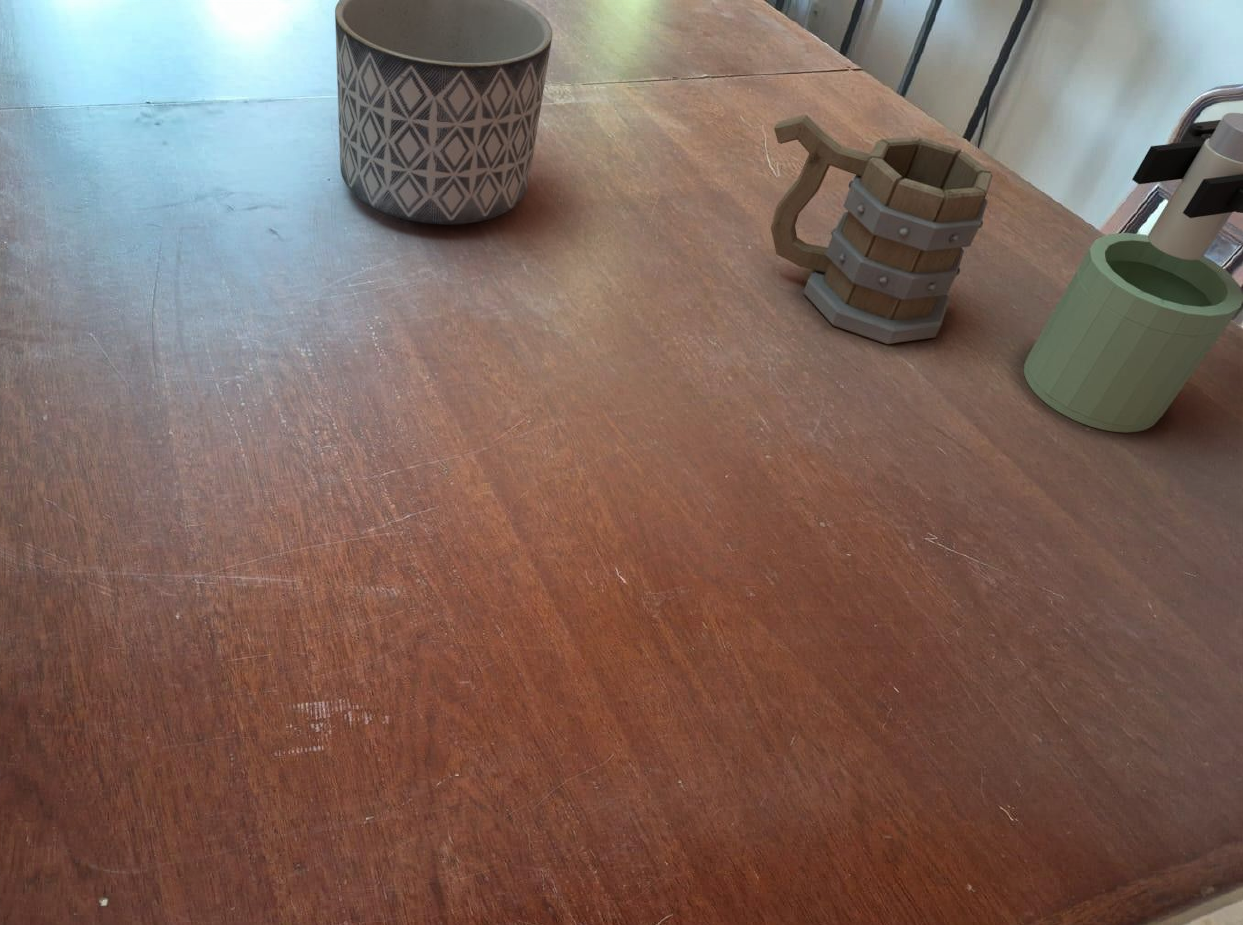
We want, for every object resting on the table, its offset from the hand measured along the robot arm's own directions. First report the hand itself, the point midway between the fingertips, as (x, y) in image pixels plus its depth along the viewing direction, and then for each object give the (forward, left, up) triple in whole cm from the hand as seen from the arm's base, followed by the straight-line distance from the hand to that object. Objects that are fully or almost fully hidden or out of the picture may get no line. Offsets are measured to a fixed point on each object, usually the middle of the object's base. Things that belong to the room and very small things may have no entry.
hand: (1170, 181), depth 79 cm
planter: (+55, -24, -20) cm, 63 cm away
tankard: (+16, -13, -20) cm, 29 cm away
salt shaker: (-5, -2, -6) cm, 8 cm away
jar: (-5, -1, -20) cm, 21 cm away
